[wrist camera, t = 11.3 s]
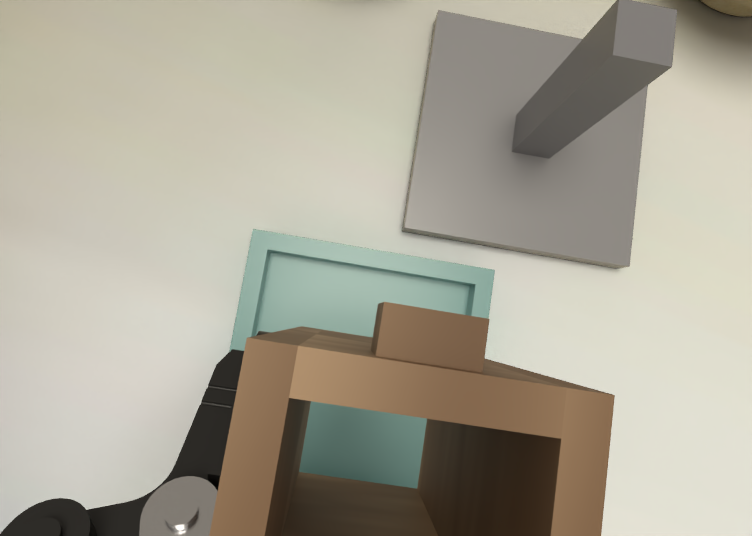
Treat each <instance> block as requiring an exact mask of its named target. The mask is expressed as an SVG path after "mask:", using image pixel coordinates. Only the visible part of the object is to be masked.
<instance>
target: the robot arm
mask: <svg viewBox="0 0 752 536" xmlns="http://www.w3.org/2000/svg"><path fill="white" fill-rule="evenodd" d="M267 333H271V332H265V331H258V333H257V335H262V334H267ZM257 335H256V336H257ZM243 355H244V351H241V350H235V349H232V350H231V351H230V352H229V353H228V354H227V355H226V356H225V357H224V358H223V359H222V360H221V361H220V362H219V363H218V364H217V365H216V368H215V370H214V372H213V375H212V377H211V380H210V382H209V384H208V388H207V389H206V392H205V394H204V396H203V399H202V403H201V405H200V406H199V408H198V411H197V413H196V416H195V418H194V420H193V423H192V425H191V428H190V430H189V433H188V435H187V437H186V440H185V442H184V445H183V447H182V449H181V452H180V454H179V457H178V459H177V461H176V464H175V466H174V468H173V470H172V472H171V473H170V474H169V476H168V477H167V478H166V480H165V481H164V482H163V483H162V484H161V485H160V486H158V487H157V488H156V489H155V490H153V491H152V492H150V493H149V494H147V495H145V496H143V497H141V498H139V499H136V500H133V501H129V502H125V503H120V504H115V505H110V506H105V507H99V508H94V509H89V510H86V509H85V508H84V507H83V506H82V505H81V504H80V503H78V502H76V501H74V500H70V499H63V498H59V499H51V500H47V501H44V502H41V503H38V504H36V505H34V506H32V507H30V508H28V509H27V510H25V511H24V512H22V513H21V514H20V515H18V516H17V517H16V518H15V519H14V520H13V521H12V522H11V523H10V524H9V525H8V526H7V527H6V528H5V529H4V530H3V531H2V533H1V534H0V536H209V534H210V529H211V523H212V518H213V513H214V508H215V502H216V497H217V492H218V487H219V481H220V476H221V471H222V465H223V460H224V455H225V450H226V444H227V439H228V434H229V429H230V423H231V418H232V413H233V408H234V402H235V397H236V392H237V386H238V381H239V376H240V371H241V365H242V360H243Z"/></svg>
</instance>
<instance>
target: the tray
mask: <svg viewBox="0 0 752 536" xmlns="http://www.w3.org/2000/svg"><path fill="white" fill-rule="evenodd" d="M494 272H495V270H492V269H486V268H480V267H474V266H468V265H462V264H456V263H451V262H445V261H439V260H433V259H427V258H421V257H415V256H409V255H404V254H398V253H392V252H386V251H380V250H374V249H368V248H362V247H356V246H351V245H345V244H339V243H333V242H327V241H321V240H315V239H309V238H303V237H298V236H292V235H286V234H280V233H274V232H268V231H262V230H256V229H253V231H252V237H251V242H250V247H249V252H248V257H247V263H246V268H245V273H244V278H243V283H242V289H241V294H240V299H239V304H238V309H237V315H236V320H235V325H234V330H233V335H232V341H231V346H230V351H231V350H232V349H235V350H241V351H244V350H245V344H246V339H247V338H248V337H253V336H256V335H257V333H258V331H265V332H271V333H272V332H277V331H281V330H286V329H291V328H296V327H301V326H304V327H310V328H316V329H323V330H329V331H335V332H341V333H348V334H354V335H360V336H367V337H373V332H374V326H375V319H376V313H377V307H378V304H379V303H382V302H389V303H396V304H402V305H408V306H414V307H420V308H426V309H432V310H438V311H445V312H451V313H457V314H463V315H469V316H475V317H481V318H487V319H488V318H489V310H490V303H491V295H492V287H493V280H494ZM230 351H229V352H230ZM426 423H427V419H426V418H420V417H413V416H406V415H400V414H393V413H386V412H380V411H373V410H366V409H360V408H353V407H346V406H340V405H333V404H327V403H320V402H313V401H311V404H310V410H309V416H308V422H307V428H306V434H305V439H304V445H303V451H302V457H301V463H300V469H299V472H303V473H311V474H318V475H325V476H332V477H339V478H346V479H353V480H360V481H367V482H374V483H381V484H388V485H395V486H402V487H409V488H416V489H417V486H418V479H419V472H420V465H421V458H422V451H423V444H424V437H425V430H426Z"/></svg>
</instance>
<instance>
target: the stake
mask: <svg viewBox="0 0 752 536" xmlns="http://www.w3.org/2000/svg"><path fill="white" fill-rule="evenodd" d="M676 18H677V10H675V9H670V8H665V7H661V6H656V5H651V4H646V3H641V2H637V1H632V0H617V1H616V2H615V3H614V4H613V5H612V7H611V8H610V9H609V10H608V11H607V12H606V13H605V15H604V16H603V17H602V18H601V19H600V20H599V21H598V22H597V24H596V25H595V26H594V27H593V28H592V29H591V30H590V32H589V33H588V34H587V35H586V36H585V37H584V38H583V39H579V38H574V37H569V36H564V35H559V34H554V33H549V32H544V31H539V30H534V29H529V28H525V27H520V26H515V25H510V24H505V23H500V22H495V21H490V20H485V19H480V18H475V17H470V16H465V15H460V14H455V13H450V12H445V11H440V10H438V13H437V16H436V19H435V22H434V29H433V35H432V41H431V48H430V54H429V61H428V67H427V73H426V80H425V86H424V93H423V99H422V105H421V112H420V118H419V125H418V131H417V137H416V144H415V150H414V157H413V163H412V169H411V176H410V182H409V189H408V195H407V202H406V208H405V214H404V221H403V227H402V231H405V232H410V233H416V234H422V235H428V236H434V237H439V238H445V239H451V240H457V241H463V242H468V243H474V244H480V245H486V246H491V247H497V248H503V249H509V250H515V251H520V252H526V253H532V254H538V255H544V256H549V257H555V258H561V259H567V260H572V261H578V262H584V263H590V264H596V265H601V266H607V267H613V268H623V267H629V266H630V256H631V246H632V236H633V226H634V216H635V206H636V196H637V186H638V176H639V166H640V157H641V147H642V137H643V127H644V117H645V107H646V97H647V87H648V84H650V83H651V82H652V81H654V80H655V79H656V78H658V77H659V76H660V75H662V74H663V73H664V72H666V71H667V70H668V69H670V68H671V67H672V60H673V49H674V39H675V28H676Z"/></svg>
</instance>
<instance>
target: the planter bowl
mask: <svg viewBox="0 0 752 536" xmlns="http://www.w3.org/2000/svg"><path fill="white" fill-rule="evenodd" d="M700 1H702V2H703V3H705V4H706V5H708V6H709V7H711V8H713V9H715V10H717V11H720V12H723V13H726V14H730V15H734V16H745V17H748V16H752V0H700Z"/></svg>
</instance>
